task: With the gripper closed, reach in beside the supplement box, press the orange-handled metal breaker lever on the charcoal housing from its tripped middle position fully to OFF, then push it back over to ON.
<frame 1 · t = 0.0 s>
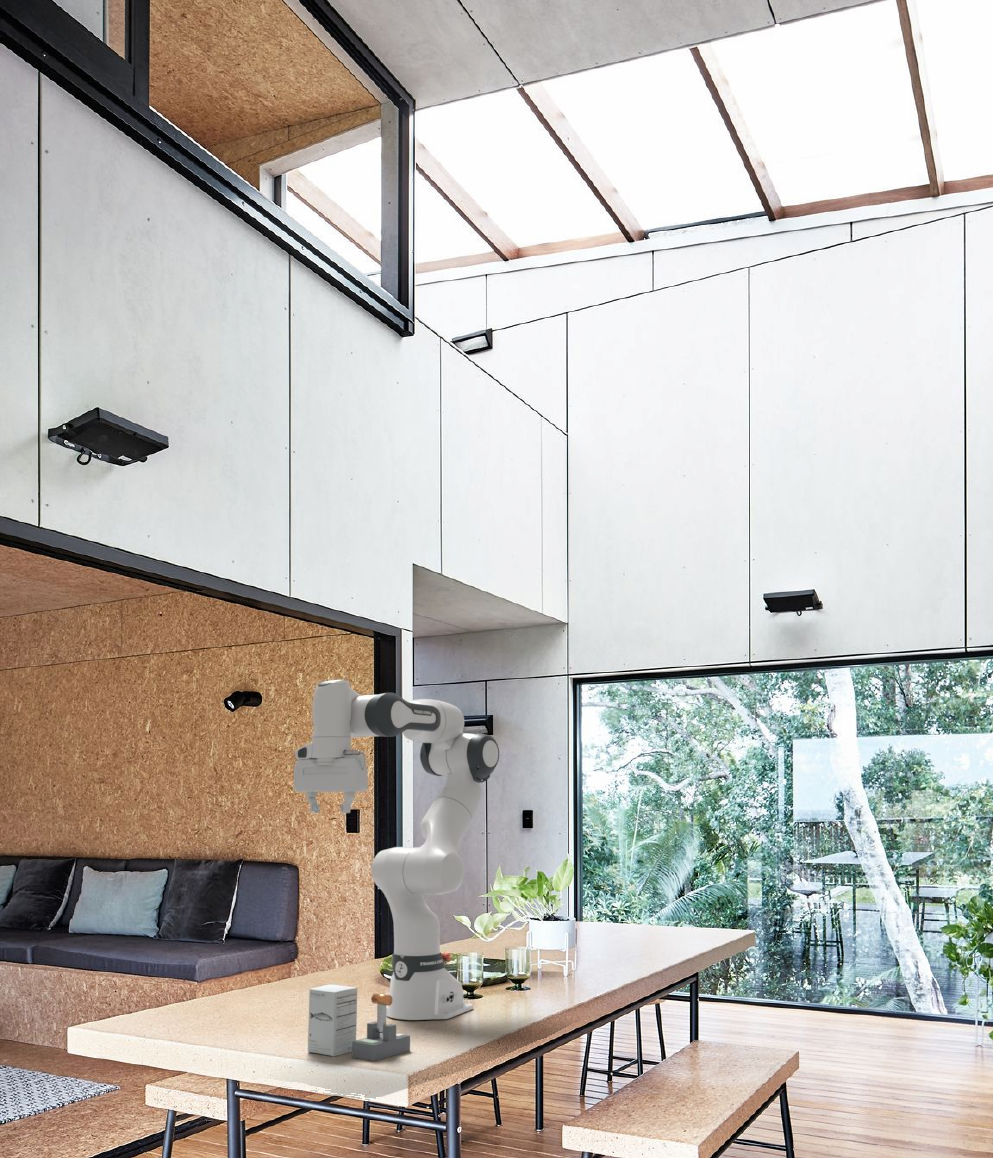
hand: (329, 812, 257), 48 cm above the table, fingers open, 8 cm apart
breaker lever: (381, 1013, 235), point 8 cm above the table, hinge at 0.0°
supplement box: (332, 1052, 236), on the table
breaker housing: (381, 1053, 233), on the table
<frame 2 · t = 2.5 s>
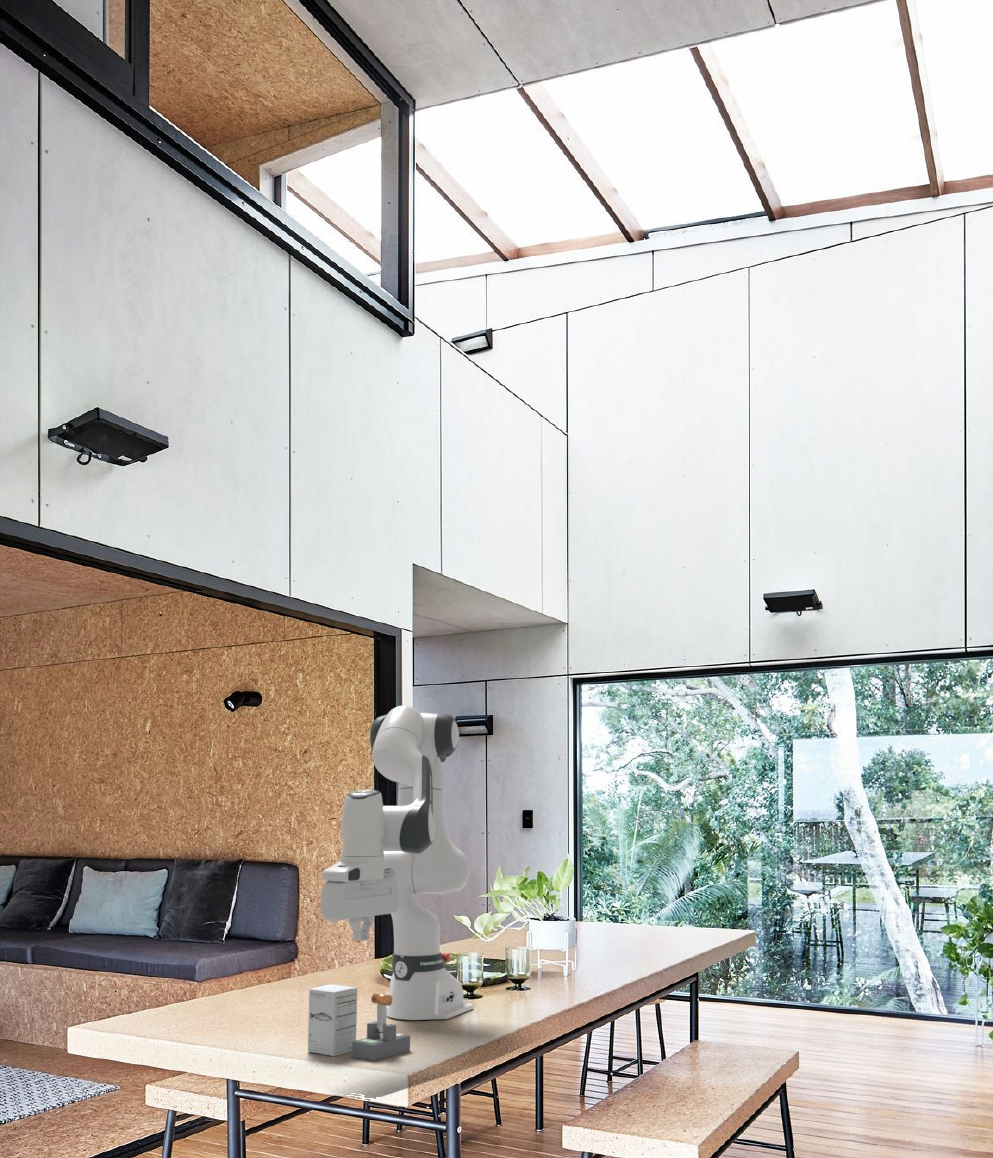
hand: (361, 940, 232), 23 cm above the table, fingers closed
nothing on the table moved.
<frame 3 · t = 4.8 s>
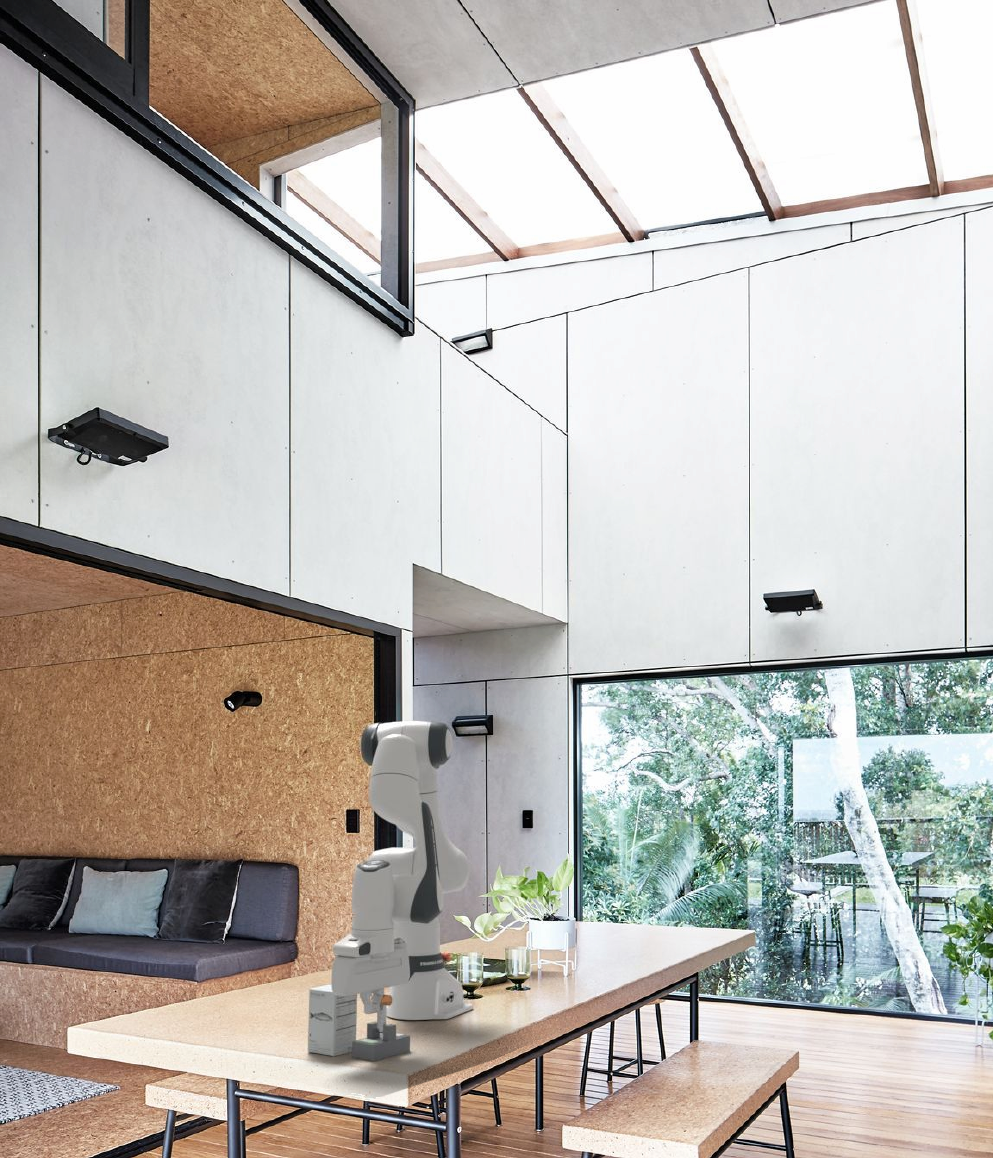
hand: (371, 1012, 233), 8 cm above the table, fingers closed
breaker lever: (381, 1013, 235), point 8 cm above the table, hinge at 0.0°, touching gripper
everything else where it was.
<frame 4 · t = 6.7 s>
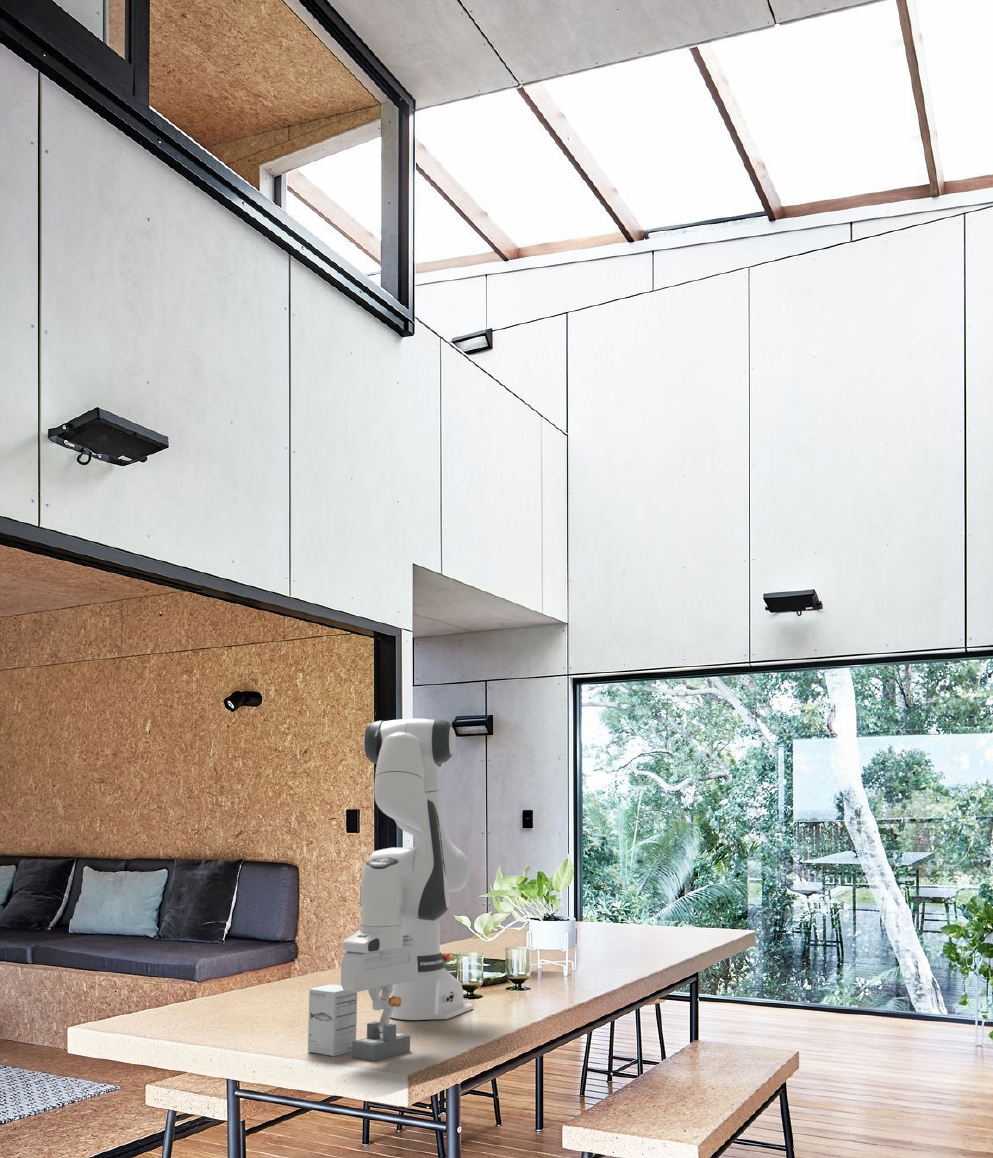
hand: (380, 1008, 234), 9 cm above the table, fingers closed
breaker lever: (386, 1014, 236), point 7 cm above the table, hinge at -28.2°
everything else where it was.
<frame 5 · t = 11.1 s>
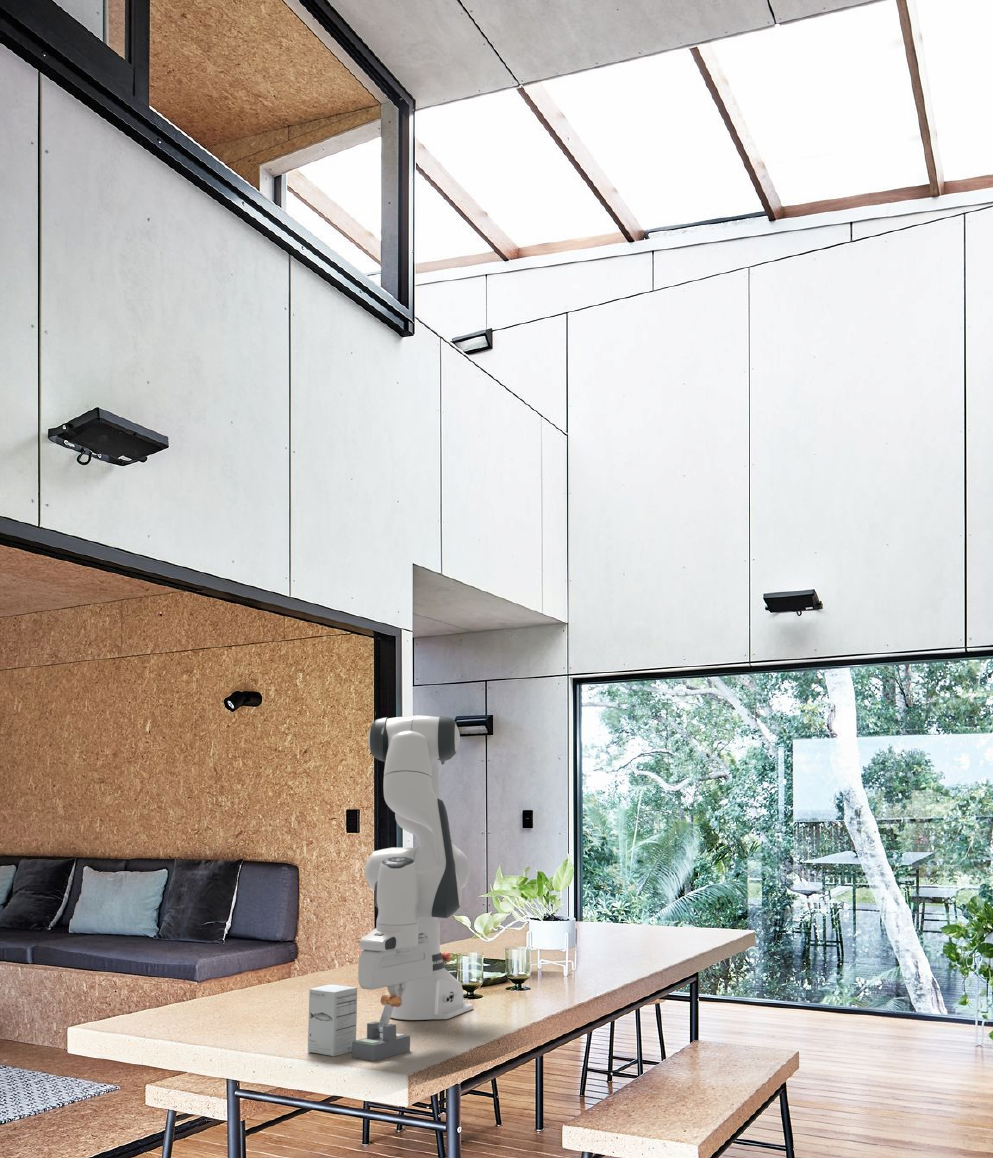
hand: (396, 1005, 238), 9 cm above the table, fingers closed, pressing on breaker lever
breaker lever: (386, 1014, 236), point 7 cm above the table, hinge at -28.1°, touching gripper
everything else where it was.
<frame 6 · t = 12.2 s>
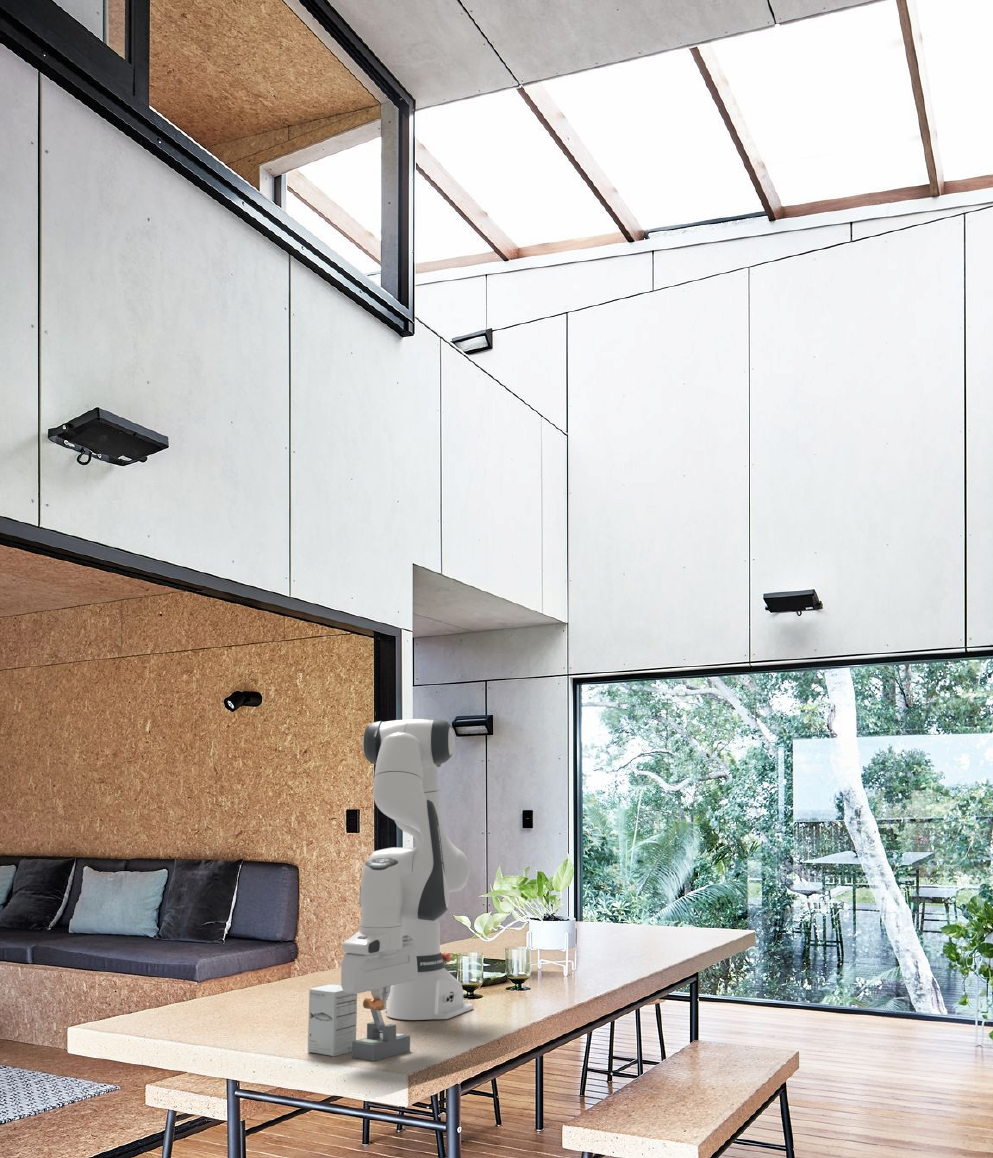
hand: (380, 1009, 234), 9 cm above the table, fingers closed, pressing on breaker lever
breaker lever: (377, 1016, 233), point 7 cm above the table, hinge at 25.1°, touching gripper
everything else where it was.
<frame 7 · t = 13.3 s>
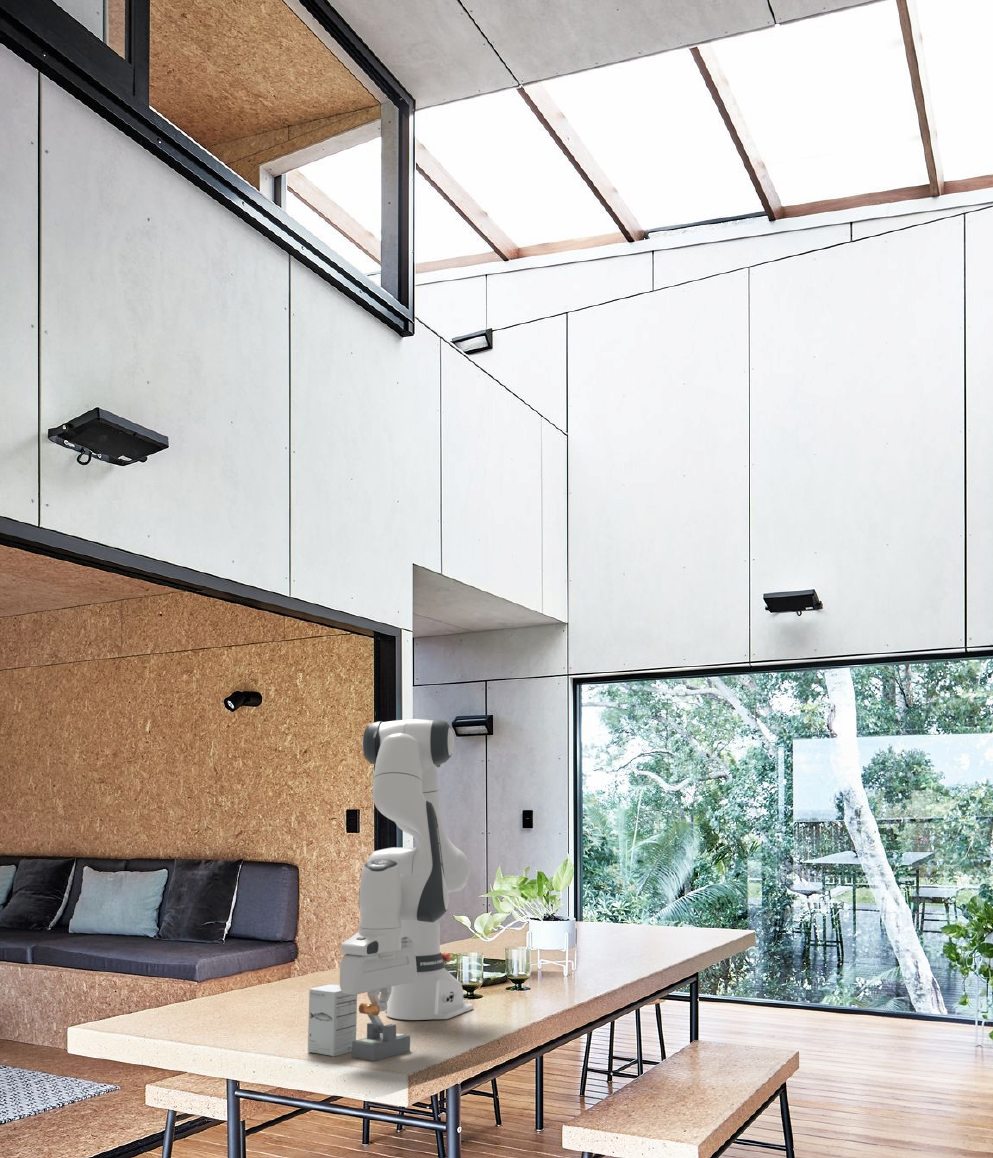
hand: (379, 1011, 234), 8 cm above the table, fingers closed
breaker lever: (375, 1018, 233), point 7 cm above the table, hinge at 39.1°
everything else where it was.
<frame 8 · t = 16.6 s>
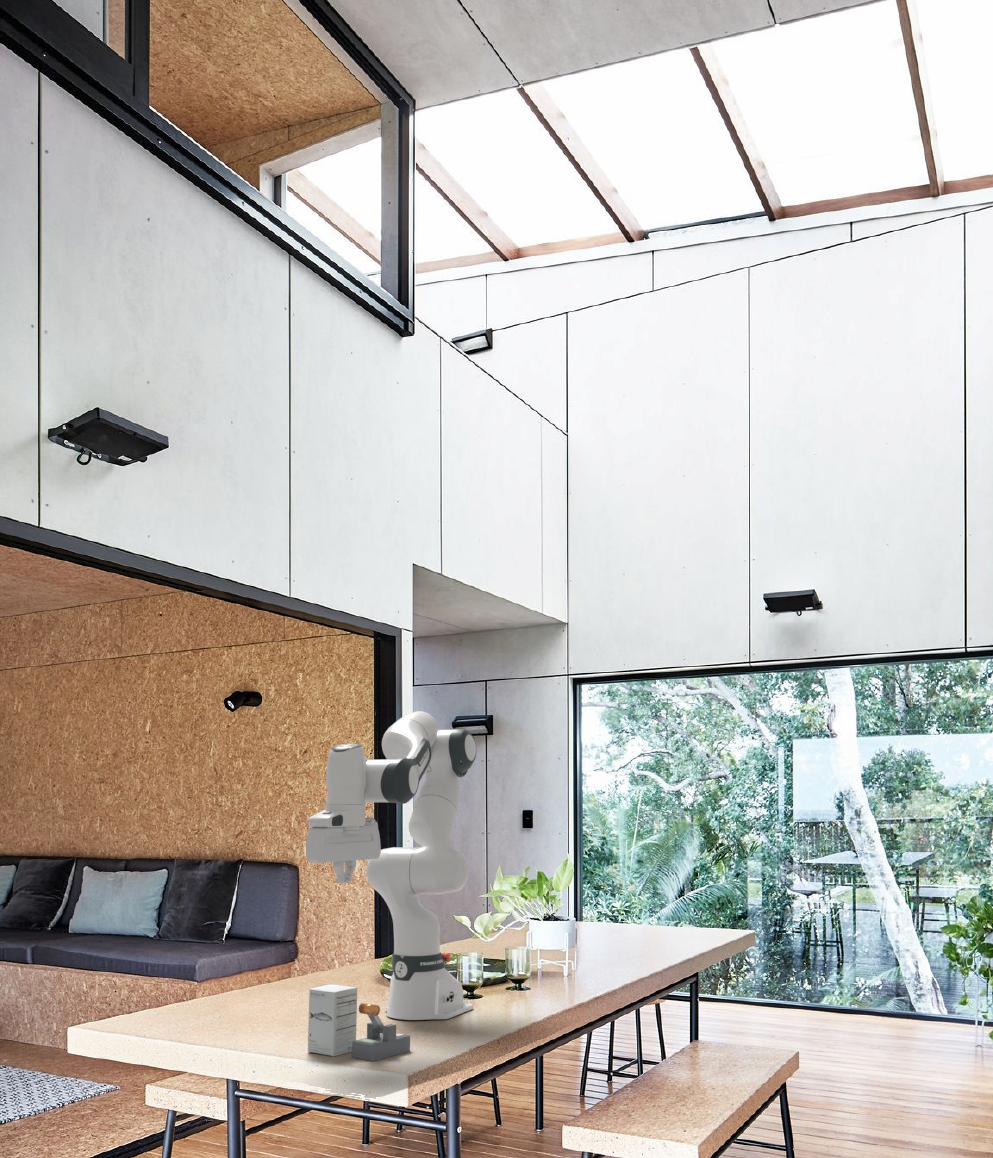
hand: (344, 882, 250), 33 cm above the table, fingers closed
nothing on the table moved.
at the end: breaker lever at +39° (first picture: +0°); supplement box moved 0.2 cm from its start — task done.
